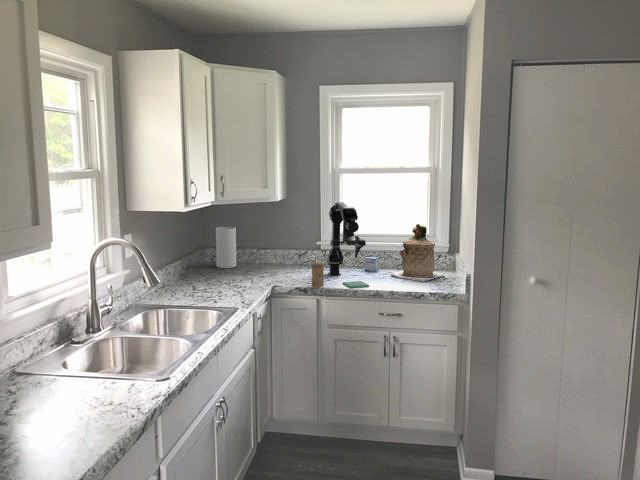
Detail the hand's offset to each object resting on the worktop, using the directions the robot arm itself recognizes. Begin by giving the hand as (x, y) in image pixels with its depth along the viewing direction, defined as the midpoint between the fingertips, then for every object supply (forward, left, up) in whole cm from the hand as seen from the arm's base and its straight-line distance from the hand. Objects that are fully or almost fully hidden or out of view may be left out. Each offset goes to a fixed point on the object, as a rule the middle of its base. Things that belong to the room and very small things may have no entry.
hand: (347, 258), depth 300 cm
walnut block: (+1, -17, -15) cm, 22 cm away
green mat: (+3, +4, -15) cm, 15 cm away
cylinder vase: (-65, -62, -15) cm, 91 cm away
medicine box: (-33, +25, -15) cm, 44 cm away
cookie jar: (-13, +47, -15) cm, 51 cm away
